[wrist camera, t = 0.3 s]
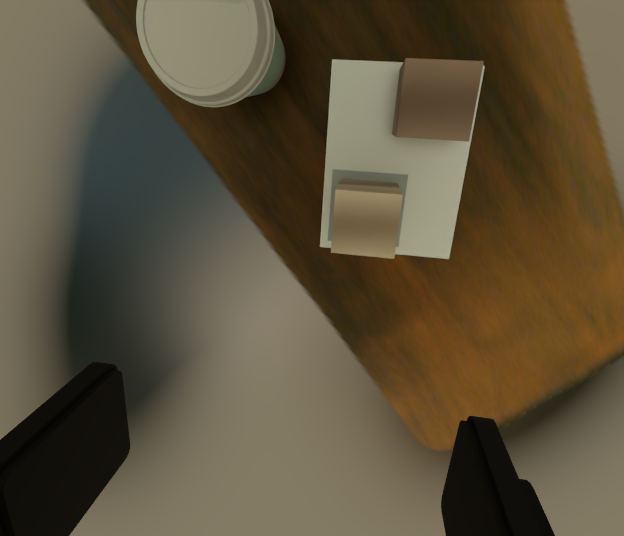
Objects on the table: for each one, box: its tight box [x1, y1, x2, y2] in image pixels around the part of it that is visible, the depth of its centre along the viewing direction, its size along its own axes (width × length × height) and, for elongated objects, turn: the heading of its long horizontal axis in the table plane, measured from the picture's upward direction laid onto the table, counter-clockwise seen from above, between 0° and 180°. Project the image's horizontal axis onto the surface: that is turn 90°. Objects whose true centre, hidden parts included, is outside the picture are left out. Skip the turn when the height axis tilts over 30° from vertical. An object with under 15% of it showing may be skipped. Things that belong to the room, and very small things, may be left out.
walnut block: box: [392, 58, 484, 142], centre depth 30 cm, size 5×5×6 cm
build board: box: [320, 59, 485, 259], centre depth 35 cm, size 16×12×1 cm
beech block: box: [331, 179, 403, 259], centre depth 33 cm, size 5×5×6 cm
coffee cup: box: [136, 0, 286, 107], centre depth 29 cm, size 9×9×12 cm
